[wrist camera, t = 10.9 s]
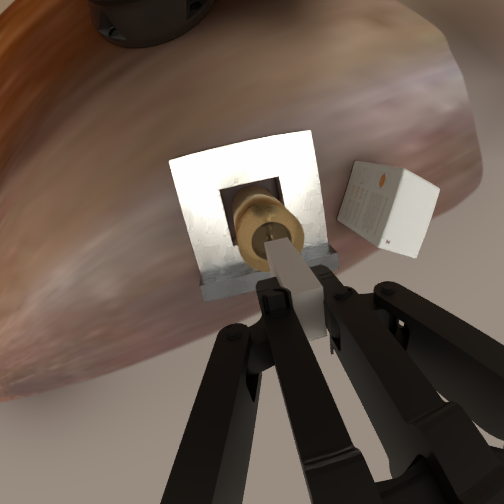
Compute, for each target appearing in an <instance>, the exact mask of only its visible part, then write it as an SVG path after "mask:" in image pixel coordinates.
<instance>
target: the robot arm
mask: <svg viewBox="0 0 504 504" xmlns="http://www.w3.org/2000/svg"><path fill="white" fill-rule="evenodd" d="M88 3H89V8H90V13H91V18H92V22H93V25H94V27H95V28H96V30H97V31H98V32H99V33H100V34H101V35H102V36H103V37H104V38H106V39H107V40H108V41H110V42H111V43H113V44H115V45H118V46H122V47H128V48H142V47H149V46H154V45H158V44H161V43H164V42H167V41H170V40H172V39H174V38H177V37H179V36H180V35H182V34H184V33H186V32H187V31H189V30H190V29H192V28H193V27H194V26H196V25H197V24H198V23H199V22H200V21H201V20H202V19H203V18H204V17H205V16H206V15H207V13H208V12H209V10H210V9H211V7H212V5H213V3H214V0H88ZM264 245H265V250H266V255H267V260H268V265H269V269H270V274H271V278H268V279H264V280H260V281H258V282H257V284H256V286H255V287H256V292H257V296H258V300H259V304H260V308H261V312H262V316H261V318H260V320H259V321H258V322H257V323H255V324H254V325H252V326H250V327H247V325H244V324H240V323H235V324H230V325H228V326H226V327H224V328H223V329H221V330H220V332H219V333H218V335H217V338H216V341H215V344H214V347H213V349H212V352H211V355H210V358H209V361H208V364H207V367H206V370H205V373H204V376H203V379H202V381H201V385H200V387H199V390H198V393H197V396H196V399H195V402H194V405H193V408H192V411H191V414H190V417H189V420H188V423H187V425H186V428H185V432H184V434H183V437H182V440H181V444H180V446H179V449H178V452H177V455H176V458H175V461H174V464H173V467H172V470H171V473H170V476H169V479H168V482H167V485H166V488H165V491H164V494H163V497H162V500H161V503H160V504H242V501H243V495H244V490H245V484H246V477H247V472H248V466H249V460H250V454H251V447H252V441H253V434H254V428H255V421H256V414H257V407H258V400H259V393H260V386H261V379H262V371H264V370H266V369H268V368H270V367H272V366H274V365H275V367H276V372H277V375H278V379H279V383H280V387H281V391H282V394H283V398H284V402H285V406H286V410H287V413H288V417H289V421H290V425H291V429H292V432H293V436H294V440H295V443H296V447H297V451H298V455H299V459H300V462H301V466H302V469H303V474H304V477H305V481H306V485H307V488H308V492H309V496H310V500H311V504H504V447H503V449H501V448H497V447H493V446H489V445H488V444H487V442H486V440H485V439H484V437H483V436H482V435H481V433H480V432H479V430H478V429H477V427H476V426H475V424H474V423H476V424H477V425H478V426H479V427H481V428H482V429H483V430H485V431H486V432H488V433H489V434H491V435H492V436H494V437H496V438H498V439H501V440H503V441H504V345H502V344H500V343H499V342H497V341H496V340H494V339H492V338H491V337H490V336H488V335H486V334H484V333H483V332H481V331H480V330H478V329H476V328H475V327H473V326H472V325H470V324H468V323H466V322H465V321H463V320H461V319H460V318H458V317H456V316H455V315H453V314H451V313H449V312H448V311H446V310H444V309H443V308H441V307H439V306H437V305H436V304H434V303H432V302H430V301H429V300H427V299H425V298H423V297H421V296H419V295H418V294H416V293H414V292H412V291H411V290H409V289H407V288H405V287H403V286H401V285H400V284H398V283H395V282H390V281H386V282H381V283H378V284H377V285H376V286H375V287H374V293H368V294H358V293H357V292H356V290H354V289H353V288H351V287H348V286H343V284H342V283H341V282H340V281H339V280H338V278H337V277H336V276H335V275H334V274H333V273H332V271H331V270H330V269H329V268H328V267H326V266H324V265H322V264H320V265H316V266H313V267H309V266H308V265H307V264H306V262H305V261H304V259H303V258H302V257H301V255H300V254H299V253H298V251H297V250H296V248H295V247H294V246H293V244H292V243H291V241H290V240H289V239H288V237H285V238H281V239H277V240H273V241H269V242H264ZM399 320H401V321H402V322H404V326H401V325H400V324H399ZM326 328H327V329H328V331H329V333H330V349H331V354H333V349H334V350H335V352H336V354H337V356H338V358H339V360H340V362H341V363H342V365H343V367H344V369H345V371H346V373H347V375H348V377H349V379H350V381H351V383H352V385H353V387H354V389H355V391H356V393H357V395H358V397H359V399H360V400H361V403H362V405H363V406H364V409H365V411H366V413H367V415H368V417H369V419H370V421H371V423H372V425H373V427H374V429H375V431H376V433H377V435H378V437H379V439H380V441H381V443H382V445H383V447H384V449H385V452H386V454H387V456H388V459H389V466H390V473H391V476H392V478H393V479H390V480H385V481H381V482H374V480H373V478H372V475H371V473H370V470H369V468H368V466H367V464H366V461H365V459H364V457H363V455H362V453H361V451H360V450H359V449H357V448H355V447H354V445H353V443H352V441H351V439H350V436H349V434H348V432H347V429H346V427H345V425H344V422H343V420H342V418H341V415H340V413H339V411H338V408H337V406H336V404H335V402H334V399H333V397H332V394H331V392H330V390H329V387H328V385H327V383H326V380H325V378H324V376H323V374H322V371H321V369H320V367H319V365H318V362H317V360H316V357H315V355H314V353H313V351H312V348H311V346H310V344H309V342H308V341H312V340H315V339H319V338H322V337H325V336H327V330H326ZM436 391H437V392H438V393H439V394H441V395H442V396H443V397H444V398H446V399H447V400H448V401H449V402H444V401H443V400H442V399H441V397H440V396H439V394H438V393H437V392H436ZM472 421H473V422H474V423H473V422H472Z"/></svg>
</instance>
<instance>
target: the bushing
mask: <svg viewBox="0 0 504 504" xmlns="http://www.w3.org/2000/svg"><path fill="white" fill-rule="evenodd" d="M232 214H233V220H234V226H235V232H236V238H237V243H238V249H239V252H240V255H241V257H242V258H243V260H244V261H245V262H246V263H247V264H248V265H249V266H250V267H252V268H254V269H256V270H258V271H262V272H270V269H269V265H268V260H267V255H266V250H265V245H264V242H269V241H273V240H277V239H281V238H285V237H288V239H289V240H290V241H291V243H292V244H293V246H294V247H295V248H296V250H297V251H298V253H299V254H301V252H302V249H303V246H304V231H303V228H302V225H301V224H300V222H299V221H298V219H297V218H296V217H295V216H294V215H293V214H292V213H291V212H290V211H289V210H288V209H287V208H286V207H284V206H283V205H282V204H281V203H280V202H279V201H278V200H277V199H276V198H275V197H274V196H273V195H272V194H271V193H270V192H269V191H267V190H266V189H264V188H263V187H260V186H248V187H245V188H243V189H241V190H240V191H239V192H238V193H237V194H236V195H235V197H234V198H233V201H232Z"/></svg>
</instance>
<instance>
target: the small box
mask: <svg viewBox="0 0 504 504" xmlns="http://www.w3.org/2000/svg"><path fill="white" fill-rule="evenodd" d="M439 191H440V188H438V187H437V186H435V185H433V184H432V183H430V182H428V181H427V180H425V179H423V178H421V177H420V176H418V175H416V174H414V173H412V172H411V171H409V170H407V169H405V168H401V167H395V166H389V165H383V164H376V163H369V162H362V161H355V162H354V166H353V169H352V173H351V176H350V179H349V183H348V186H347V189H346V192H345V196H344V199H343V202H342V205H341V208H340V211H339V214H338V217H337V220H338V221H339V222H341V223H342V224H344V225H345V226H347V227H348V228H350V229H351V230H353V231H354V232H356V233H357V234H359V235H360V236H362V237H363V238H364V239H366V240H367V241H369V242H370V243H372V244H373V245H374V246H376V247H378V248H381V249H385V250H388V251H391V252H395V253H398V254H402V255H405V256H408V257H412V258H415V259H416V258H417V255H418V253H419V250H420V248H421V245H422V242H423V240H424V237H425V234H426V231H427V229H428V226H429V223H430V220H431V217H432V214H433V211H434V208H435V205H436V201H437V198H438V195H439Z"/></svg>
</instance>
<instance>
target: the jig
mask: <svg viewBox="0 0 504 504" xmlns="http://www.w3.org/2000/svg"><path fill="white" fill-rule="evenodd" d="M169 164H170V168H171V172H172V176H173V179H174V183H175V187H176V191H177V194H178V198H179V202H180V205H181V209H182V212H183V216H184V219H185V223H186V226H187V230H188V233H189V237H190V240H191V243H192V246H193V250H194V253H195V256H196V259H197V263H198V266H199V269H200V272H201V277H200V285H199V287H200V290H201V293H202V295H203V298H204V301H205V302H207V301H212V300H216V299H221V298H225V297H230V296H234V295H238V294H243V293H247V292H251V291H255V290H256V287H255V286H256V284H257V282H258V281H260V280H264V279H268V278H271V274H270V272H262V271H258V270H256V269H254V268H252V267H250V266H249V265H248V264H247V263H246V262H245V261H244V260H243V258H242V257H241V255H240V252H239V249H238V243H237V238H234V239H232V237H231V233H230V229H229V225H228V221H227V217H226V213H225V209H224V205H223V200H222V196H221V192H220V189H224V188H228V187H232V186H237V185H241V184H245V183H250V182H254V181H259V180H263V179H268V178H273V177H275V178H276V183H277V188H278V193H279V199H280V203H281V204H282V205H283V206H284V207H286V208H287V209H288V210H289V211H290V212H291V213H292V214H293V215H294V216H295V217H296V218H297V219H298V221H299V222H300V224H301V225H302V228H303V231H304V246H303V249H302V252H301V254H300V255H301V257H302V258H303V259H304V261H305V262H306V264H307V265H308V266H309V267H313V266H316V265H320V264H322V265H324V266H326V267H328V268H329V269H330V270H331V271H333V270H337V269H339V264H338V253H337V252H336V251H335V250H334V249H333V248H332V247H331V246H330V245H329V244H328V241H327V232H326V224H325V216H324V208H323V201H322V194H321V187H320V181H319V175H318V169H317V163H316V157H315V151H314V146H313V141H312V135H311V130H308V131H301V132H294V133H288V134H282V135H276V136H271V137H265V138H260V139H255V140H250V141H245V142H240V143H236V144H231V145H227V146H222V147H218V148H214V149H210V150H206V151H202V152H198V153H194V154H191V155H187V156H183V157H180V158H176V159H173V160H170V161H169Z"/></svg>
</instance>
